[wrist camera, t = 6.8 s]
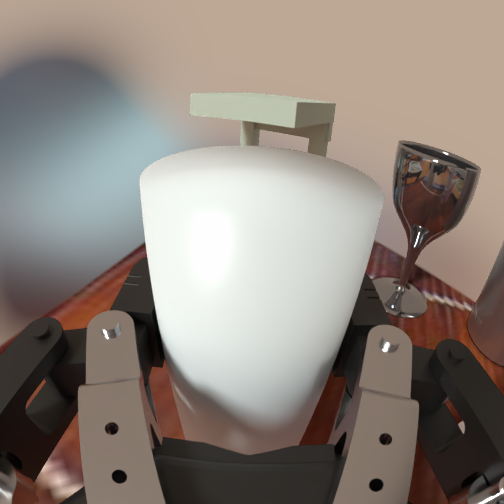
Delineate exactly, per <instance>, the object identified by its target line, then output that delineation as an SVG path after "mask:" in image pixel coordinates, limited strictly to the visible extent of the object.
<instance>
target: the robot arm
mask: <svg viewBox="0 0 504 504" xmlns="http://www.w3.org/2000/svg"><path fill="white" fill-rule="evenodd" d="M379 298H380V297H379V294H378V292H377V291H376V288H375V286H374V284H373V281H372V279H371V278H370V277H369V276H368V275H367V274H364V277H363V281H362V284H361V287H360V290H359V294H358V297H357V300H356V303H355V306H354V309H353V312H352V315H351V318H350V321H349V324H348V327H347V330H346V332H345V335H344V338H343V341H342V343H341V346H340V349H339V352H338V354H337V357H336V359H335V362H334V365H333V367H332V369H333V374H334V377H344V376H345V380H346V385H345V387H344V389H343V392H342V396H341V399H340V403H339V407H338V411H337V414H336V418H335V421H334V425H333V428H332V431H331V435H330V437H329V440H328V442H327V444H323V445H303V446H290V447H286V448H282V449H277V450H273V451H268V452H263V453H259V454H253V455H245V454H241V453H238V452H234V451H231V450H227V449H224V448H221V447H217V446H214V445H211V444H208V443H205V442H197V441H188V440H180V439H173V438H166V437H163V436H162V433H161V430H160V426H159V421H158V417H157V412H156V408H155V403H154V398H153V393H152V388H151V382H150V379H149V376H150V372H151V369H152V366H153V367H160V368H162V367H163V364H164V360H165V355H164V351H163V346H162V341H161V336H160V331H159V325H158V320H157V315H156V309H155V303H154V297H153V291H152V285H151V278H150V272H149V265H148V258H143V259H141V260H140V261H139V262H137V263H136V264H135V265H134V266H133V268H132V269H131V271H130V273H129V277H127V279H126V280H125V282H124V284H123V286H122V288H121V290H120V292H119V293H118V295H117V297H116V299H115V301H114V303H113V305H112V307H111V309H110V311H106V312H103V313H100V314H98V315H97V316H95V317H94V318H93V319H92V320H91V321H90V323H89V324H88V327H87V328H83V329H74V330H63V328H62V325H61V323H60V322H59V321H58V320H56V319H54V318H50V317H44V318H40V319H37V320H35V321H33V322H32V323H30V324H29V325H28V326H27V327H26V328H25V329H24V330H23V331H22V332H21V333H20V335H19V336H18V337H17V338H16V339H15V340H14V341H13V342H12V343H11V344H10V346H9V347H8V348H7V349H6V350H5V351H4V352H3V354H2V355H1V356H0V504H38V502H39V500H38V496H37V495H36V488H35V485H34V481H35V480H36V478H37V476H38V475H39V473H40V471H41V470H42V468H43V466H44V465H45V463H46V461H47V460H48V458H49V456H50V455H51V453H52V452H53V450H54V448H55V447H56V445H57V443H58V442H59V440H60V439H61V437H62V436H63V434H64V432H65V431H66V429H67V428H68V426H69V424H70V423H71V421H72V420H73V418H74V417H75V415H76V414H77V412H78V416H79V436H80V449H81V460H82V469H83V477H84V485H85V486H84V487H83V488H81V489H80V490H78V491H77V492H76V493H74V494H73V495H71V496H70V497H68V498H67V499H65V500H64V501H62V502H61V503H60V504H411V503H410V502H409V501H408V495H409V490H410V484H411V478H412V471H413V465H414V457H415V449H416V440H418V442H419V444H420V446H421V448H422V450H423V452H424V453H425V455H426V457H427V459H428V461H429V463H430V465H431V467H432V469H433V471H434V473H435V475H436V477H437V479H438V481H439V483H440V485H441V487H442V489H443V491H444V493H445V495H446V497H447V499H448V504H504V397H503V395H502V394H501V392H500V391H499V389H498V388H497V387H496V385H495V384H494V382H493V381H492V379H491V378H490V377H489V375H488V374H487V373H486V371H485V370H484V369H483V367H482V366H481V365H480V363H479V362H478V361H477V359H476V358H475V357H474V355H473V354H472V353H471V351H470V350H469V349H468V348H467V347H466V346H465V345H464V344H462V343H461V342H459V341H456V340H452V339H446V340H443V341H441V342H440V343H439V344H438V345H437V347H436V349H435V350H432V349H427V348H422V347H418V346H414V345H412V342H411V340H410V338H409V337H408V335H407V334H406V333H405V332H403V331H402V330H401V329H399V328H397V327H394V326H392V324H391V322H390V319H389V317H388V315H387V312H386V310H385V308H384V306H383V303H382V301H381V299H379ZM467 327H468V332H469V334H470V337H471V339H472V340H473V342H474V344H475V345H476V346H477V347H478V349H479V350H480V351H481V352H482V353H483V354H484V355H485V356H486V357H488V358H489V359H490V360H492V361H493V362H495V363H497V364H499V365H500V366H503V367H504V242H503V244H502V247H501V249H500V252H499V254H498V257H497V259H496V261H495V264H494V266H493V268H492V271H491V273H490V275H489V277H488V279H487V282H486V284H485V286H484V288H483V290H482V292H481V294H480V296H479V298H478V300H477V301H476V303H475V305H474V308H473V310H472V312H471V313H470V315H469V317H468V321H467ZM43 379H45V381H46V383H45V384H44V386H43V387H42V388H41V390H40V391H39V392H38V394H37V395H36V396H35V398H34V399H33V400H32V402H31V403H30V405H29V406H28V407H27V409H26V410H25V407H26V403H27V401H28V399H29V398H30V397H31V395H32V394H33V393H34V391H35V390H36V389H37V387H38V386H39V385H40V383H41V382H42V381H43ZM448 399H450V401H451V402H452V404H453V405H454V407H455V409H456V410H457V412H458V413H459V415H460V417H461V418H462V420H463V422H464V425H465V431H464V434H463V433H462V431H461V429H460V428H459V426H458V424H457V422H456V421H455V419H454V418H453V416H452V414H451V413H450V411H449V409H448V408H447V406H446V404H445V402H446V401H447V400H448Z"/></svg>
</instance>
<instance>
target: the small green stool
mask: <svg viewBox="0 0 504 504" xmlns="http://www.w3.org/2000/svg"><path fill="white" fill-rule="evenodd" d="M335 105H336V104H335V103H329V102H324V101H317V100H311V99H304V98H296V97H289V96H280V95H271V94H260V93H196V94H191V97H190V115H194V116H206V117H216V118H225V119H234V120H242V123H241V139H240V146H258V143H259V131H260V130H267V131H273V132H279V133H284V134H290V135H295V136H301V137H306V138H309V146H308V153H311V154H315V155H319V156H323V157H326V152H327V144H328V142H329V141H330V140H331V133H332V125H333V122H334V114H335Z"/></svg>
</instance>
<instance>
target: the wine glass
mask: <svg viewBox="0 0 504 504" xmlns="http://www.w3.org/2000/svg"><path fill="white" fill-rule="evenodd" d="M480 173H481V168H480V167H479V166H477V165H476V164H474V163H472V162H470V161H468V160H466V159H464V158H462V157H459V156H457V155H455V154H452V153H449V152H447V151H444V150H441V149H438V148H434V147H431V146H428V145H424V144H420V143H416V142H411V141H399V142H398V147H397V151H396V157H395V163H394V171H393V203H394V206H395V209H396V212H397V214H398V216H399V218H400V220H401V222H402V225H403V227H404V229H405V231H406V235H407V239H408V252H407V257H406V262H405V266H404V270H403V273H402V275H401V278H399V277H395V276H387V275H386V276H377V277H374V278H372V281H373V284H374V286H375V288H376V291H377V292H378V294H379V297H380V298H379V299H381V301H382V303H383V306H384V308H385V310H386V312H387V313H389V314H391V315H394V316H397V317H402V318H415V317H419V316H421V315H423V314H424V313H425V312H426V310H427V307H428V302H427V298H426V297H425V295H424V293H423V292H422V291H421V290H420V289H419V288H418V287H417V286H415V285H414V284H412V283H411V282H409V281H407V280H408V277H409V275H410V272H411V270H412V268H413V266H414V264H415V261H416V260H417V258H418V255H419V254H420V252H421V251H422V250H423V248H424V247H425V246H426V245H428V244H429V243H430V242H432V241H433V240H435V239H437V238H439V237H440V236H442V235H444V234H446V233H448V232H449V231H451V230H452V229H454V228H455V227H456V226H457V225H458V224H459V222H460V221H461V220H462V218H463V216H464V215H465V213H466V212H467V209H468V208H469V205H470V203H471V201H472V199H473V197H474V194H475V191H476V188H477V184H478V181H479V177H480Z"/></svg>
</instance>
